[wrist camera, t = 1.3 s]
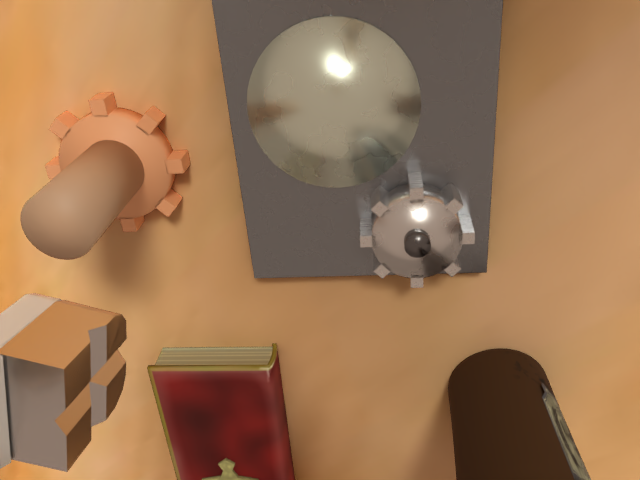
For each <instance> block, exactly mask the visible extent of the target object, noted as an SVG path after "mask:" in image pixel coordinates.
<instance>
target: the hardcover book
mask: <svg viewBox="0 0 640 480" xmlns="http://www.w3.org/2000/svg"><path fill="white" fill-rule="evenodd" d="M272 346H273V347H185V348H163V349H162V351H161V353H160V355H159V357H158V360H157V362H156V364H155V365H148V367H147V369H148V373H149V377H150V381H151V384H152V388H153V392H154V395H155V399H156V403H157V407H158V410H159V414H160V418H161V421H162V425H163V429H164V432H165V436H166V440H167V444H168V447H169V451H170V455H171V458H172V462H173V466H174V470H175V473H176V477H177V480H295V477H294V470H293V463H292V455H291V448H290V440H289V433H288V426H287V418H286V411H285V404H284V396H283V389H282V382H281V374H280V367H279V359H278V352H277V345H276V344H272Z"/></svg>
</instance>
